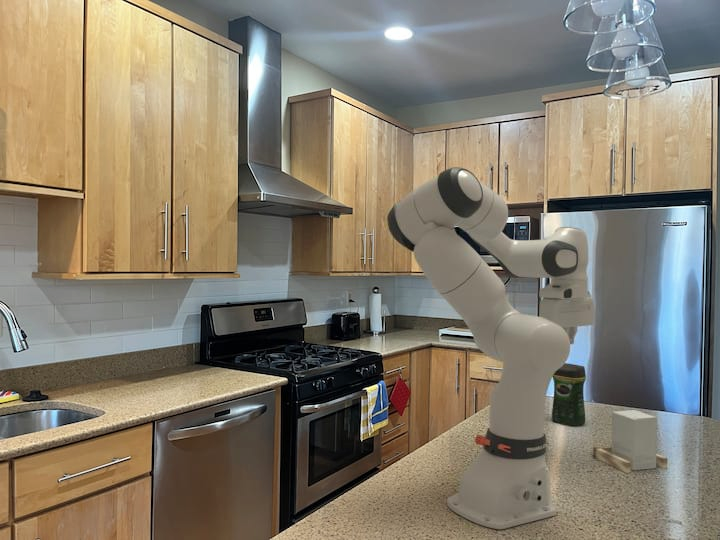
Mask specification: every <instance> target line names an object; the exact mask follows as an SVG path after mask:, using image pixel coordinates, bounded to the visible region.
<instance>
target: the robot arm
mask: <svg viewBox="0 0 720 540" xmlns="http://www.w3.org/2000/svg"><path fill="white" fill-rule="evenodd" d="M508 219H509V208H508V205H507V202H506V201H505V200H504V199H503V197H502V196H501V195H499V193H497V192H496V191H494V190H493V189H491V188H490V187H488V186H487V185H486V184H484V183H483V182H481V181H480V180H478V178H477V177H476V175H475V174H474V173H473V172H472V171H470V170H468V169H466V168H463V167H458V166H454V167H450V168H447V169H445V170H444V171H441V172H440V173H439V174H438V175H437V176H435V177H433V178H430V180H428V181H426V182H425V183H422V184H421V185H418V186H417V187H415V188H413V190H411V191H410V192H408V194H407V195H406V196H405V197H404V198H402V199H401V200H399V201H397V202H396V203H395V204H394V205H393V207H392V208H391V209H390V210H389V211H388V213H387V220H386V221H387V228H388V230H389V233H390V235H391V236H392V237H393V238H394V240H395V241H396V242H397V243H398V244H399V245H401V246H402V247H404V248H406V249H407V250H409V251H411V252H412V253H413V257H414V261H416V263H417V265H418V267H419V269H420V270H421V271H422V273H423V274H424V275H425V277H426V279H427V280H428V281H429V282H430V284H431V285H432V286H433V288H435V290H436V291H437V292H438V294H440V295H441V296H442V297H443V299H444V300H445V301H446V302H447V303H448V304H449V305H450V306H451V307H452V309H453V310H455V312H456V313H457V315H459V316H460V318H461V319H462V321H464V323H465V324H466V326H467V328H468V329H469V331H470V333H471V334H472V337H473V341H474V343H475V345H476V347H477V348H478V349H479V350H480V352H482V353H483V354H484V355H486V356H487V357H489V358H490V359H492V360H494V361H498V362H500V363H502V372H501V376H500V377H499V378H500V379H499V381H498V383H497V385H496V386H495V387H493V389H492V390H491V391H490V394H489V417H488V418H489V420H488V421H489V422H488V424H489V425H488V426H489V427H488V428H487V430H486V433H485V435H482V434H479V433H478V434H476V436H475V437H474V443H475V444H476V445H480V446H481V447H482V450H481V451H480V452H479V454H478V455H477V456H476V457H475V459H474V460H472V462H471V463H470V465H469V466H467V468H466V469H465V471H464V472H463V473H462V474H461V477H460V480H459V485H458V486H459V488H458V492H455V493H454V494H453V495H451V496H449V497H448V498H447V499H446V505H447V507H448V508H449V509H450V510H451V511H453V512H454V513H456V514H457V515H459V516H460V517H462V518H464V519H467V520H469V521H471V522H472V523H475V524H478V525H481V526H483V527H487V528H491V529H496V530H504V529H509V528H512V527H516V526H519V525H524V524H528V523H532V522H534V521H535V522H536V521H539V520H542V519H547V518H551V517H554V516H556V515H557V508H556V507H555V506H554V504H553V502H552V500H553V499H552V489H551V488H552V487H551V485H552V484H551V474H550V469H549V467H548V464H547V462H546V458H545V454H546V453H547V442H548V441H547V435H546V433H545V410H546V409H545V407H546V397H547V393H548V389H549V386H550V383H551V381H552V380H553V375H554V373H555V372H556V371H557V370H558V369H559V368H561V367H562V366H563V365H564V364H565V363H567V360H568V358H569V356H570V353H571V352H570V351H571V345H574V344H575V337H576V335H577V332H578V327H586V326H587V327H588V326H593V325H594V323H595V321H596V315H595V314H596V312H595V309H596V308H595V303H594V299H593V298H592V295H591V293H590V291H589V290H588V289H589V288H588V287H589V285H588V283H589V277H588V274H587V269H588V265H589V243H588V237H587V233H586V232H585V231H584V230H582V229H581V228H577V227H572V226H571V227H569V226H562V227H556V229H555V230H554V233H552V234H551V235H550V236H548V237H545V238H544V239H534V240H533V239H531V240H529V239H527V240H522V239H521V240H520V239H512V238H509V236H507V235H506V234H505V233H504V232H503V231H504V229H505V227H506V225H507V222H508ZM456 226H457V227H458V228H459V229H461V230H463V232H465V233H467V235H468V236H469V237H470V238H471V240H472V241H473V242H474V243H476V245H478V246H479V247H480V248H482V249H483V250H484V251H485V252H487V253H488V254H489V255H490V256H491V257H493V258H494V260H496V261H497V263H498V264H499V265H500V267H501V269H502V270H503V272H504V273H505V275H507V276H509V277H510V278H513V279H522V278H523V279H524V278H535V279H536V278H537V279H538V278H539V279H542V278H543V279H550V282H549V283H548V284H547V285H545V286H544V287H542V288H540V289H539V292H538V295H539V298H541V300H540V302H539V312H538V313H539V314H538V315H539V316H537V315H536V316H535V315H530V314H525V313H522V312H520V311H518V310H517V309H516V308H514V306H513V305H511V303H510V301H509V300H508V297H507V295H506V285H505V284H504V283H505V282H504V281H502V280H501V278H500V276H498V275H497V274H496V273H495V271H494V270H493V268H491V267H490V266H489V265H488V263H486V261H485V259H483V257H482V256H481V255H480V254H479V253H478V252H477V251H476V250H475V248H473V247H472V246H471V244H469V243H468V242H467V241H466V240H465V239H464V238H462V237H461V236H460V234H457V232H456V229H455V227H456Z"/></svg>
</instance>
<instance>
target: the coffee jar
mask: <svg viewBox="0 0 720 540" xmlns="http://www.w3.org/2000/svg"><path fill="white" fill-rule="evenodd" d="M586 375H587V374H586V369H585V366H584V365H580V364H572V363H567V362H565V364H564V365H563V366H562V367H561V368H559V369H558V370H557V371H556V372H555V373H554V375H553V377H552V380H553V401H552V408H551V420H552V421H553V422H556V423H558V424H563V425H565V426H580V427H581V426H583V425H584V424H585V423H586V411H585V408H586V407H585V397H584V387H585V382H586V380H587V376H586Z"/></svg>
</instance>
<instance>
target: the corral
mask: <svg viewBox="0 0 720 540" xmlns="http://www.w3.org/2000/svg"><path fill="white" fill-rule="evenodd" d="M592 457H593V458H594V459H596V460H599V461H601V462H603V463H605V464H607V465H609V466H610V467H613V468H615V469H618V470H619V471H621V472H623V473H625V474H630V473H631V472H632V470H631V462H629V461H627V460H625V459H622V458H620V457H618V456H616V455H614V454H612V444H611V445H603V446H594V447H593V449H592ZM656 467H659V468H661V469H668V457H666V456H663V455H661V454H659V453H656Z"/></svg>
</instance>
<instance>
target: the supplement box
mask: <svg viewBox="0 0 720 540" xmlns="http://www.w3.org/2000/svg"><path fill="white" fill-rule="evenodd" d="M611 417H612V418H611V421H612V422H611V445H612V454H614V455H616V456H618V457H620V458H622V459H625V460H627V461H629V462H631V471H642V470H650V469H656V468H657V466H656V454H657V432H658V431H657V429H658V428H657V426H658V425H657V424H658V423H657V422H658V420H657V419H658V417H657V416H654V415H651V414H647V413H644V412H642V411H639V410H636V409H630V410H629V409H628V410H619V411H618V410H617V411H612V415H611Z"/></svg>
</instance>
